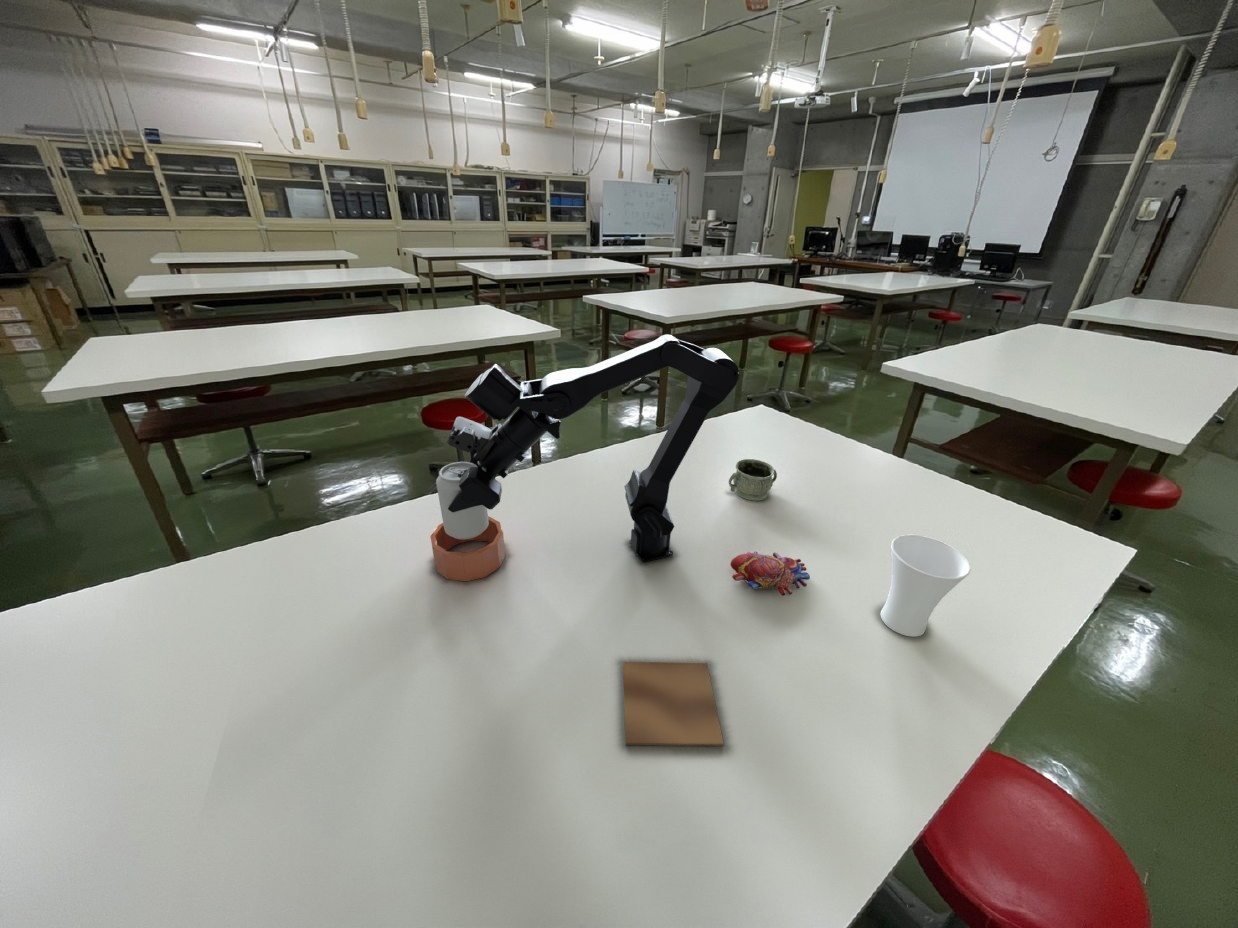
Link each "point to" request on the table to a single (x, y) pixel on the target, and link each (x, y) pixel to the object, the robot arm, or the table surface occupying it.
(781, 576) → the anatomical model
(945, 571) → the cup
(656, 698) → the wooden coaster
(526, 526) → the table surface
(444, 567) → the pot
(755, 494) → the vessel
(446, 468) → the can
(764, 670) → the table surface
